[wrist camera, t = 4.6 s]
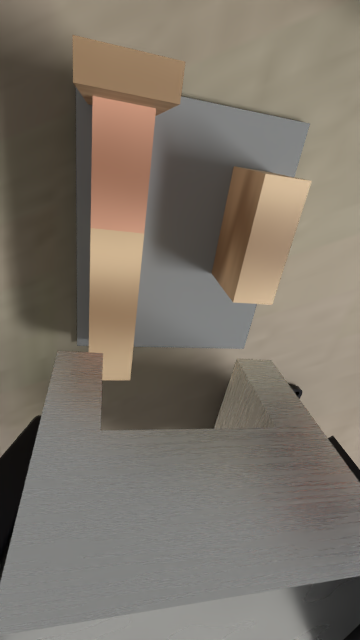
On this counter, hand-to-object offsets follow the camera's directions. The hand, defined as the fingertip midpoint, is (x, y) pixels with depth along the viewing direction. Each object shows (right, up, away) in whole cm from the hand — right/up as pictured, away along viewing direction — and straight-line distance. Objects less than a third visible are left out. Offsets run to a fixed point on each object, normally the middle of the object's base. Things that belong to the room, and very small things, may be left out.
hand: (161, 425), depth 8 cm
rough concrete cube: (0, 0, 0) cm, 0 cm away
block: (0, +7, +10) cm, 12 cm away
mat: (0, +7, +10) cm, 12 cm away
